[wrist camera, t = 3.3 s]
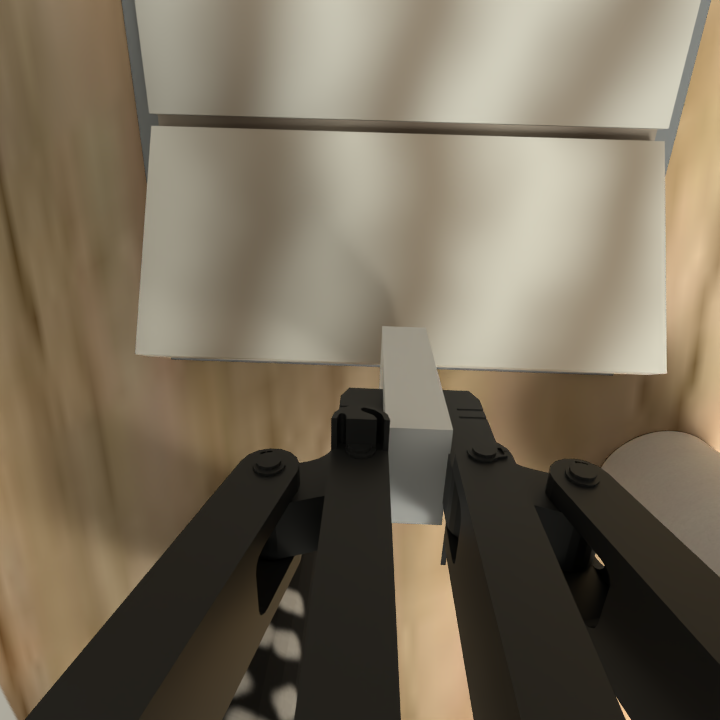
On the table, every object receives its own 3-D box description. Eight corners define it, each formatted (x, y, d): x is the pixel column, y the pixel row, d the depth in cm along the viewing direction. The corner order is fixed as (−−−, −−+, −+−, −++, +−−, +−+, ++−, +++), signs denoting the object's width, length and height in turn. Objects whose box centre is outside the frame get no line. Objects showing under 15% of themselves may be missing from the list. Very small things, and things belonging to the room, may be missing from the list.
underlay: (173, 357, 25) (171, 359, 25) (95, -219, 16) (90, -225, 16) (610, 372, 25) (613, 375, 24) (759, -205, 16) (766, -212, 16)
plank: (149, 356, 20) (134, 353, 19) (163, 141, 21) (151, 125, 19) (648, 375, 20) (666, 373, 18) (646, 156, 20) (664, 141, 19)
